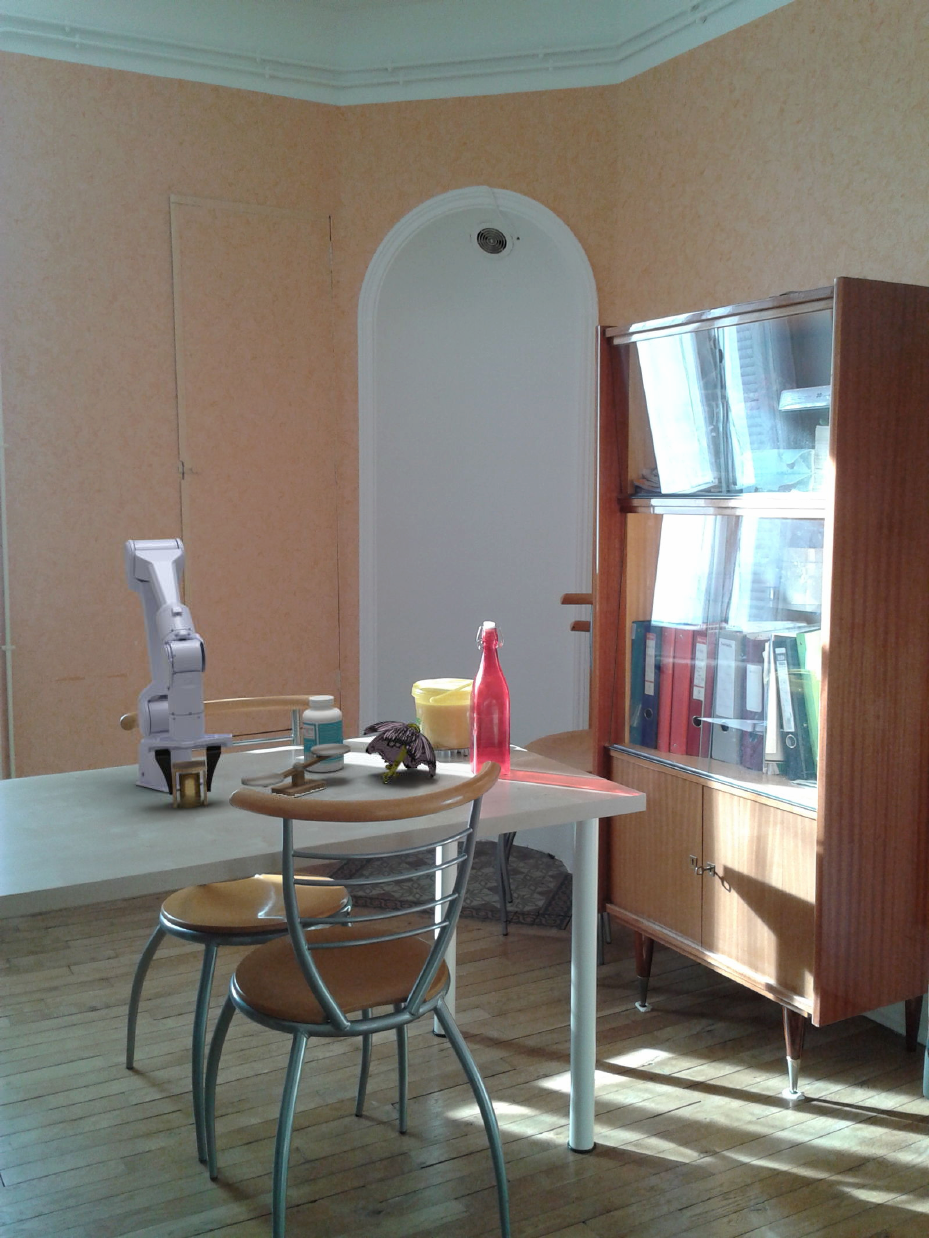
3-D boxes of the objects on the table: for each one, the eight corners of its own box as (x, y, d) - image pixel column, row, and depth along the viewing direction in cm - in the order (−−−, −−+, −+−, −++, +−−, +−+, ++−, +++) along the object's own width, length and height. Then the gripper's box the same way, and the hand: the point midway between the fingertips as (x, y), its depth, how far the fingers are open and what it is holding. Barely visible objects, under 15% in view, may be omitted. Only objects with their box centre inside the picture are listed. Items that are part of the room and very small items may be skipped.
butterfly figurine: (460, 727, 197) (379, 709, 192) (448, 792, 194) (366, 775, 190) (433, 733, 210) (358, 717, 206) (422, 795, 207) (345, 779, 203)
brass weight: (176, 805, 186) (174, 773, 185) (192, 800, 188) (191, 769, 188) (188, 808, 184) (187, 776, 183) (205, 803, 186) (204, 772, 186)
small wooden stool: (173, 807, 183) (171, 769, 182) (174, 798, 188) (172, 762, 187) (207, 804, 184) (205, 767, 183) (207, 795, 189) (205, 759, 189)
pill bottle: (347, 763, 212) (345, 693, 211) (339, 773, 205) (337, 701, 203) (309, 763, 213) (306, 693, 211) (299, 773, 206) (297, 701, 204)
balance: (233, 803, 186) (231, 767, 186) (331, 774, 204) (330, 741, 203) (261, 810, 182) (260, 773, 181) (359, 780, 200) (358, 746, 199)
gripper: (139, 719, 179) (143, 801, 180) (231, 713, 182) (235, 794, 184) (141, 711, 186) (145, 790, 187) (230, 705, 189) (233, 783, 191)
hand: (190, 791), depth 186 cm, fingers closed on small wooden stool, 5 cm apart
